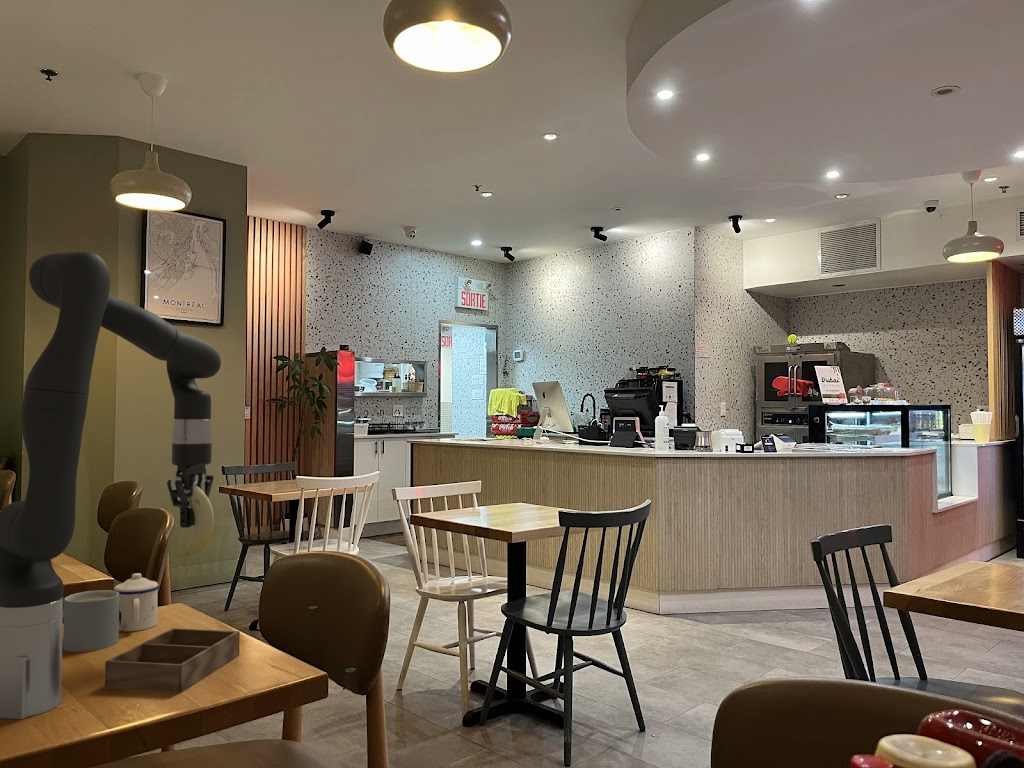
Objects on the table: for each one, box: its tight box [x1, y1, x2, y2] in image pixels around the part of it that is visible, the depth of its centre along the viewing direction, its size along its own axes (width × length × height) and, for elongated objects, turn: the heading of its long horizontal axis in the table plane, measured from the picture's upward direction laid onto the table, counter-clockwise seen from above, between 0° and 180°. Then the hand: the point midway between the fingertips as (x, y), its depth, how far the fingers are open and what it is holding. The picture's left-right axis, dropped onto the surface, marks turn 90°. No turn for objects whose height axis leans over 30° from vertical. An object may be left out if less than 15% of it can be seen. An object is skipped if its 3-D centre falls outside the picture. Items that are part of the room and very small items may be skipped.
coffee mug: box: [62, 589, 120, 653], centre depth 157 cm, size 13×10×10 cm
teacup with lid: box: [112, 572, 160, 633], centre depth 167 cm, size 12×9×12 cm
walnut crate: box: [104, 628, 241, 694], centre depth 139 cm, size 20×14×5 cm
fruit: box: [167, 486, 215, 557], centre depth 154 cm, size 7×15×3 cm
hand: (190, 525), depth 154 cm, fingers closed on fruit, 2 cm apart
